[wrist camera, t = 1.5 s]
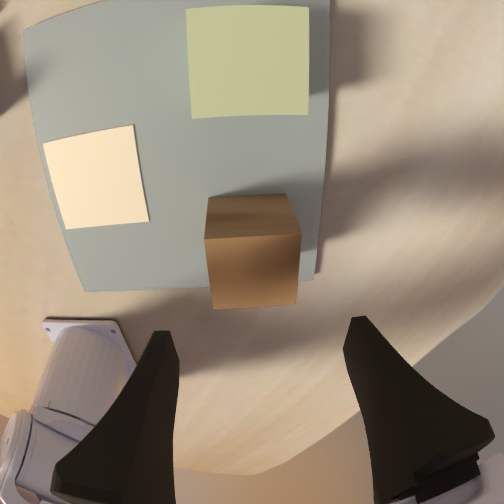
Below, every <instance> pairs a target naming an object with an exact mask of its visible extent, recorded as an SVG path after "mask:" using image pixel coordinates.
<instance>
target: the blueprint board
mask: <svg viewBox="0 0 504 504" xmlns="http://www.w3.org/2000/svg"><path fill="white" fill-rule="evenodd" d="M232 5H280V6H298V7H309V102H308V115H248V116H226V117H211V118H198V119H192V114H191V100H190V85H189V69H188V50H187V28H186V9H190V8H200V7H213V6H232ZM23 43H24V58H25V69H26V78H27V87H28V94H29V101H30V108H31V114H32V119H33V125H34V130H35V135H36V140H37V145H38V149H39V154H40V158H41V162H42V167H43V171H44V174H45V178H46V182H47V186H48V189H49V193H50V196H51V200H52V203H53V206H54V210H55V213H56V216H57V219H58V222H59V225H60V228H61V231H62V234H63V237H64V240H65V243H66V245H67V248H68V251H69V254H70V256H71V259H72V262H73V264H74V267H75V269H76V272H77V274H78V277H79V279H80V282H81V284H82V286H83V289H84V291H85V292H97V291H131V290H158V289H181V288H201V287H210V283H209V275H208V268H207V260H206V252H205V244H204V234H205V223H206V214H207V204H208V197H223V196H240V195H260V194H285V193H286V195H287V197H288V200H289V202H290V205H291V207H292V210H293V212H294V215H295V217H296V220H297V222H298V225H299V228H300V230H301V233H302V240H301V252H300V264H299V276H298V281H310V280H314V273H315V265H316V256H317V247H318V238H319V229H320V219H321V209H322V198H323V187H324V174H325V161H326V146H327V129H328V109H329V82H330V0H106V1H102V2H99V3H95V4H92V5H88V6H85V7H82V8H79V9H76V10H73V11H70V12H67V13H64V14H61V15H59V16H56V17H53V18H51V19H48V20H46V21H43V22H41V23H38V24H36V25H34V26H31V27H29V28H27V29H24V30H23Z"/></svg>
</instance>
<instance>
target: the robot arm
mask: <svg viewBox="0 0 504 504" xmlns="http://www.w3.org/2000/svg"><path fill="white" fill-rule="evenodd" d="M41 324H42V326H43V328H44V330H45V331H46V333H47V334H48V336H49V338H50V339H51V341H52V342H53V344H54V345H53V347H52V350H51V352H50V355H49V357H48V360H47V363H46V365H45V368H44V371H43V374H42V377H41V379H40V382H39V385H38V388H37V391H36V394H35V397H34V400H33V404H32V407H31V410H29V411H27V410H25V409H21V410H20V411H16V412H14V413H13V415H12V416H11V418H10V420H9V422H8V424H7V427H6V429H5V432H4V435H3V438H2V441H1V445H0V499H1V501H2V502H3V503H4V504H176V500H175V489H174V476H173V475H174V474H173V430H174V421H175V413H176V405H177V397H178V389H179V358H178V355H177V352H176V349H175V346H174V343H173V340H172V337H171V333H170V331H154V332H153V334H152V336H151V338H150V340H149V342H148V344H147V346H146V348H145V350H144V352H143V354H142V356H141V358H140V360H139V362H138V363H137V365H136V363H135V360H134V358H133V356H132V354H131V352H130V350H129V348H128V346H127V344H126V342H125V339H124V337H123V335H122V333H121V330H120V328H119V326H118V324H117V323H116V322H115V321H103V320H51V319H44V320H43V321H42V323H41ZM343 352H344V357H345V362H346V367H347V371H348V374H349V377H350V380H351V383H352V386H353V389H354V392H355V395H356V398H357V401H358V404H359V407H360V410H361V413H362V416H363V419H364V424H365V429H366V434H367V439H368V445H369V451H370V458H371V467H372V476H373V491H374V503H375V504H504V458H503V455H502V453H499V454H497V455H495V456H494V457H492V458H490V459H488V460H487V461H485V462H483V463H481V464H480V465H477V462H476V461H477V460H478V459H479V456H478V453H477V452H478V451H480V450H481V449H483V448H484V447H485V446H487V445H488V444H489V443H490V442H491V441H493V440H494V438H495V434H494V432H493V429H492V427H491V425H490V423H489V421H488V419H486V418H484V417H482V416H480V415H478V414H476V413H474V412H472V411H470V410H468V409H466V408H465V407H463V406H461V405H459V404H458V403H456V402H455V401H453V400H452V399H450V398H449V397H448V396H446V395H445V394H443V393H442V392H440V391H439V390H438V389H436V388H435V387H434V386H433V385H431V384H430V383H429V382H428V381H426V380H425V379H424V378H423V377H422V376H421V375H420V374H419V373H418V372H417V371H416V370H414V369H413V368H412V367H411V366H410V365H409V364H408V363H407V362H406V361H405V360H404V358H403V357H402V356H401V355H400V354H399V353H398V352H397V351H396V350H395V349H394V348H393V347H392V346H391V344H390V343H389V342H388V341H387V340H386V339H385V338H384V336H383V335H382V334H381V333H380V332H379V331H378V329H377V328H376V327H375V326H374V325H373V324H372V322H371V321H370V320H369V319H368V318H367V317H366V316H359V317H352V318H351V322H350V326H349V329H348V333H347V336H346V339H345V343H344V346H343Z"/></svg>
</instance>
